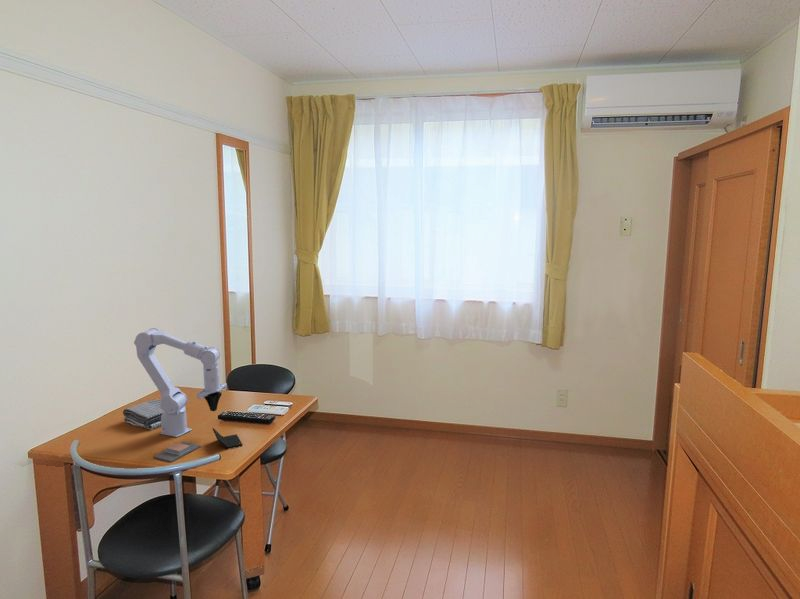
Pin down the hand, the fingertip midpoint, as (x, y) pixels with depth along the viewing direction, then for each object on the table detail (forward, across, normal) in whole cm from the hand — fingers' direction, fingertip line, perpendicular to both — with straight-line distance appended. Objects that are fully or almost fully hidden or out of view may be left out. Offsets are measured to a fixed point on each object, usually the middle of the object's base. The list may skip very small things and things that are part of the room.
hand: (213, 410), depth 205 cm
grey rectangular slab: (+9, -20, 0) cm, 22 cm away
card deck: (+8, -17, 0) cm, 19 cm away
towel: (+10, -2, +34) cm, 35 cm away
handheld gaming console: (+10, -6, -12) cm, 17 cm away
